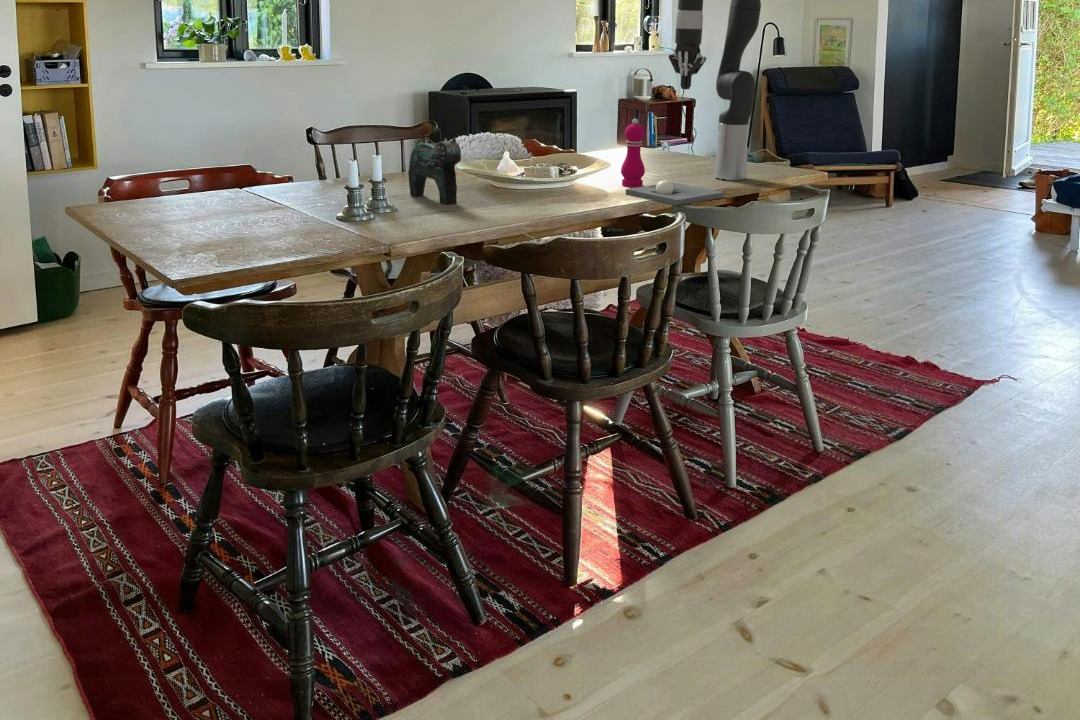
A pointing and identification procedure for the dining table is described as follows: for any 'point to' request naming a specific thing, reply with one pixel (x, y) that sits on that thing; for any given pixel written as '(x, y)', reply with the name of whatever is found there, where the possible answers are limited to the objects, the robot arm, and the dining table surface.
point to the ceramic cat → (435, 168)
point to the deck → (676, 194)
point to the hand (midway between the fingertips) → (685, 89)
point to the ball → (664, 187)
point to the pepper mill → (633, 156)
